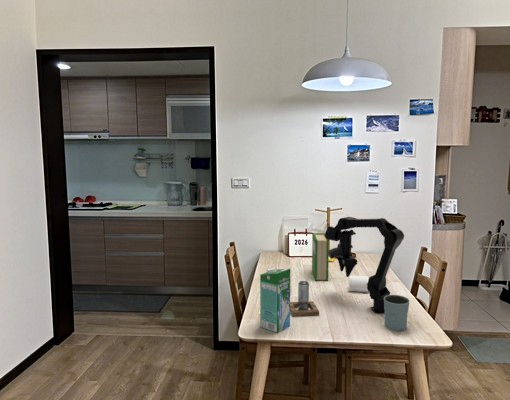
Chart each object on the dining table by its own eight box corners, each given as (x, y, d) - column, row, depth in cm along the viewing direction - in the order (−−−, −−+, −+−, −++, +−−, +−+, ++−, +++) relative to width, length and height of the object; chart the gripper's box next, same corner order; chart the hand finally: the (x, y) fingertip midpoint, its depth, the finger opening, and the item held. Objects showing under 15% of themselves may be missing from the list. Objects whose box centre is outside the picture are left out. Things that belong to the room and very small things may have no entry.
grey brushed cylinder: (310, 311, 183) (311, 282, 182) (302, 313, 181) (302, 284, 179) (304, 308, 187) (304, 280, 186) (295, 310, 185) (296, 281, 183)
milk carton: (273, 320, 174) (273, 264, 171) (290, 325, 169) (290, 268, 166) (260, 327, 167) (260, 269, 164) (277, 333, 162) (277, 273, 159)
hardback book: (328, 281, 225) (328, 239, 222) (314, 281, 226) (315, 239, 223) (324, 271, 243) (324, 233, 240) (311, 271, 243) (312, 233, 240)
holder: (319, 315, 179) (319, 311, 178) (292, 316, 178) (292, 312, 177) (313, 305, 191) (313, 301, 190) (288, 306, 190) (288, 302, 189)
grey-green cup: (402, 321, 172) (403, 294, 171) (412, 331, 162) (413, 303, 161) (379, 321, 172) (380, 294, 171) (387, 332, 162) (388, 303, 161)
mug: (369, 294, 205) (369, 279, 204) (349, 293, 207) (349, 278, 206) (368, 286, 216) (368, 272, 215) (349, 285, 219) (349, 271, 218)
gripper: (324, 239, 203) (323, 268, 205) (334, 247, 184) (333, 280, 186) (345, 238, 204) (344, 268, 206) (358, 247, 185) (357, 279, 187)
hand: (344, 273), depth 196 cm, fingers open, 9 cm apart
